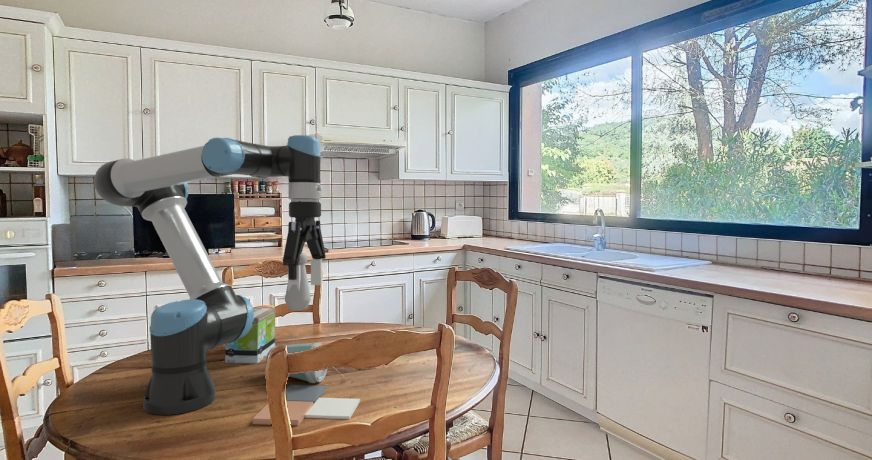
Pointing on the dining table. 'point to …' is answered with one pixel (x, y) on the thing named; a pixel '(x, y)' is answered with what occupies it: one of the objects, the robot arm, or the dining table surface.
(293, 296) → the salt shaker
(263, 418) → the terracotta coaster
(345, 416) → the white coaster
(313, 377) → the disposable coffee cup
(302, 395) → the slate coaster
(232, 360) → the tea box
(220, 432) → the dining table surface
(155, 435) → the dining table surface
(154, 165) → the robot arm
